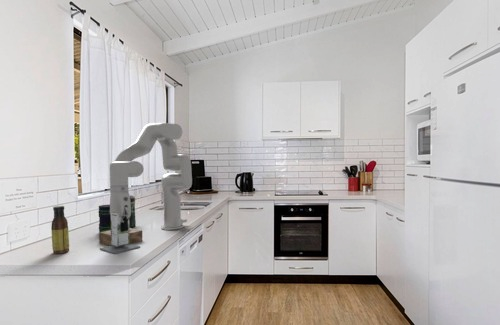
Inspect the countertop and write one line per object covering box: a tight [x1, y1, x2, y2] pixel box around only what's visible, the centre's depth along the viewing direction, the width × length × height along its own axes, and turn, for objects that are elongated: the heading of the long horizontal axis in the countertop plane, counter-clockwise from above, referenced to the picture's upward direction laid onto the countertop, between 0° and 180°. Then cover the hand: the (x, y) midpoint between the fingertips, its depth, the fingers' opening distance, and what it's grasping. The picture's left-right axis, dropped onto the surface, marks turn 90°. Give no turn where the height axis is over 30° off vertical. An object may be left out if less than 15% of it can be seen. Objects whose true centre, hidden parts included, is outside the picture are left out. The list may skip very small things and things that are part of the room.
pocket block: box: [98, 227, 143, 246], centre depth 154 cm, size 14×14×5 cm
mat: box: [99, 243, 141, 255], centre depth 141 cm, size 12×12×1 cm
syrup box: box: [111, 212, 129, 246], centre depth 142 cm, size 6×6×14 cm
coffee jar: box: [129, 195, 137, 228], centre depth 189 cm, size 10×8×19 cm
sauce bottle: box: [51, 205, 70, 255], centre depth 137 cm, size 7×6×20 cm
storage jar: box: [98, 204, 111, 233], centre depth 174 cm, size 10×10×15 cm
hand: (120, 229), depth 142 cm, fingers closed on syrup box, 5 cm apart
